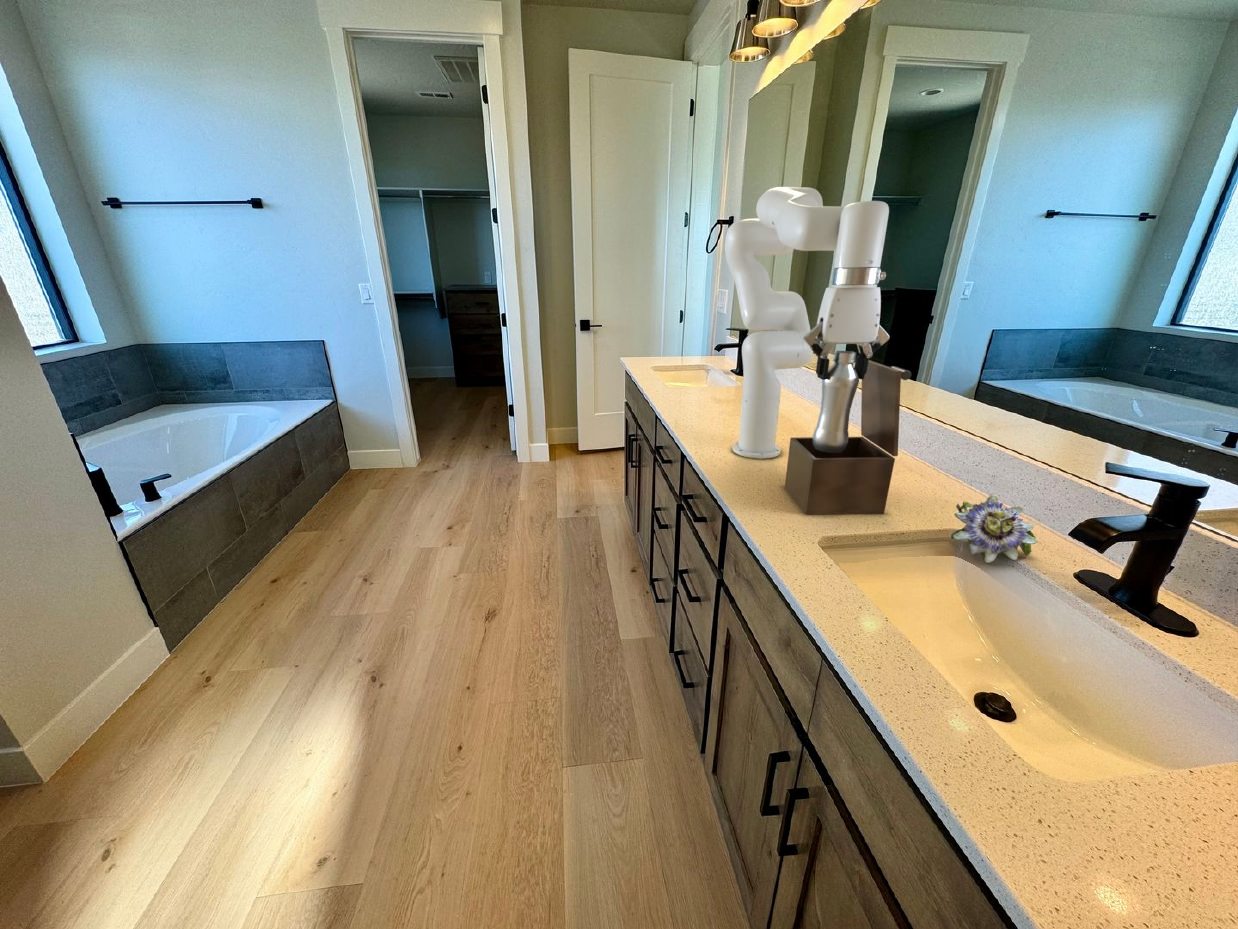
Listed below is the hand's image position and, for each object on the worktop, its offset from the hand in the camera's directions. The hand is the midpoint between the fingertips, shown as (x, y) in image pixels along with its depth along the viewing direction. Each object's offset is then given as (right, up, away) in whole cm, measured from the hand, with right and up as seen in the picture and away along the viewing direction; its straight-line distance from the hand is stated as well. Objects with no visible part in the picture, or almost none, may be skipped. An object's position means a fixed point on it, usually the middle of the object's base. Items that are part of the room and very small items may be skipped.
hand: (840, 377), depth 95 cm
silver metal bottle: (0, -14, +6) cm, 15 cm away
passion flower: (+20, -32, -10) cm, 39 cm away
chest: (+2, -24, +9) cm, 26 cm away
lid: (+8, -5, +2) cm, 10 cm away
